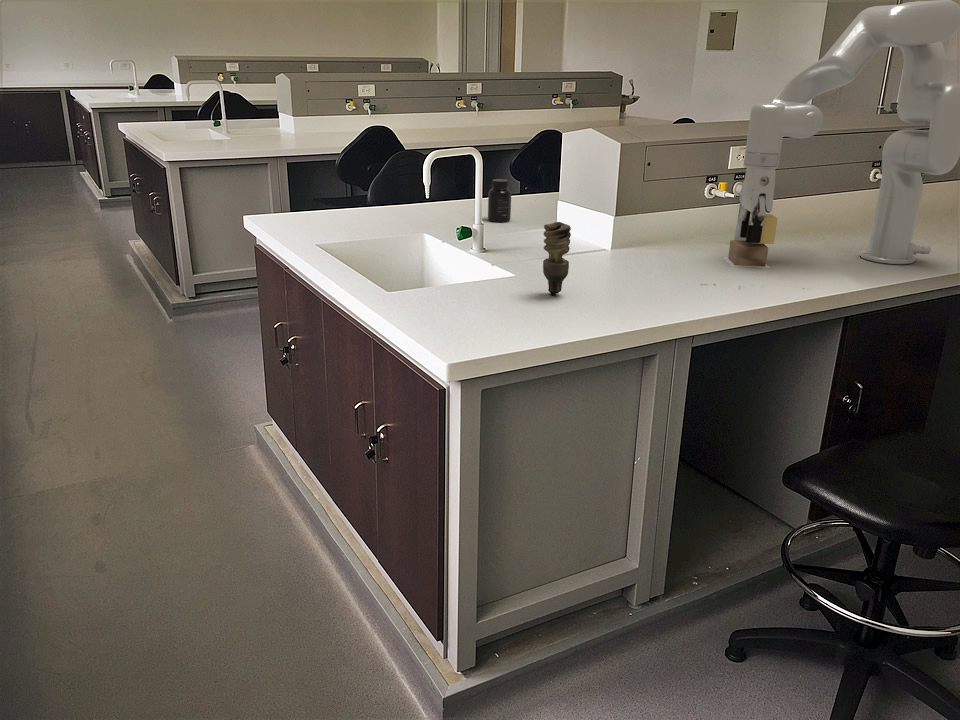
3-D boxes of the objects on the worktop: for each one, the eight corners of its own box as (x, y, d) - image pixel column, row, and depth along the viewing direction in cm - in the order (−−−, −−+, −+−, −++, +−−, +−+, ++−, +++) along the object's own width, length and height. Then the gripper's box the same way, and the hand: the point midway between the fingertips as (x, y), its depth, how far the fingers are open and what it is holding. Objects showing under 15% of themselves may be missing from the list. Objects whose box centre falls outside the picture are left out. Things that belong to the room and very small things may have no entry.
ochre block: (767, 239, 187) (771, 214, 185) (773, 244, 182) (777, 218, 180) (746, 238, 187) (750, 213, 185) (751, 243, 183) (755, 217, 180)
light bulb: (534, 294, 162) (538, 221, 157) (551, 289, 166) (556, 218, 160) (555, 300, 158) (559, 225, 153) (572, 295, 162) (577, 222, 156)
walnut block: (757, 259, 190) (760, 241, 188) (765, 266, 183) (768, 247, 182) (728, 258, 190) (730, 239, 189) (734, 265, 184) (737, 246, 182)
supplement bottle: (483, 219, 237) (484, 178, 233) (504, 218, 240) (505, 178, 236) (493, 223, 231) (495, 182, 227) (514, 222, 234) (516, 181, 230)
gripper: (789, 165, 170) (776, 248, 177) (768, 156, 186) (756, 233, 193) (754, 164, 171) (742, 247, 177) (735, 155, 186) (725, 232, 193)
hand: (749, 239), depth 185 cm, fingers closed on ochre block, 4 cm apart
